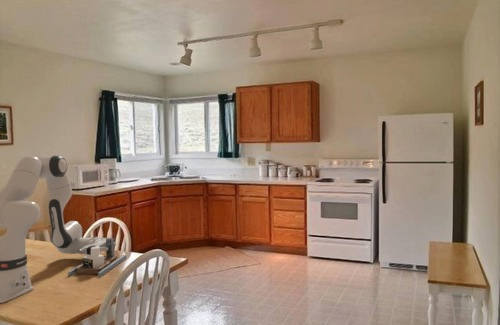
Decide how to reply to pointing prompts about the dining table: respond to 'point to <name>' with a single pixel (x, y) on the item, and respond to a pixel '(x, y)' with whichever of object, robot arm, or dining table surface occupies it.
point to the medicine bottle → (93, 258)
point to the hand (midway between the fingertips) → (111, 246)
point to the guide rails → (104, 268)
